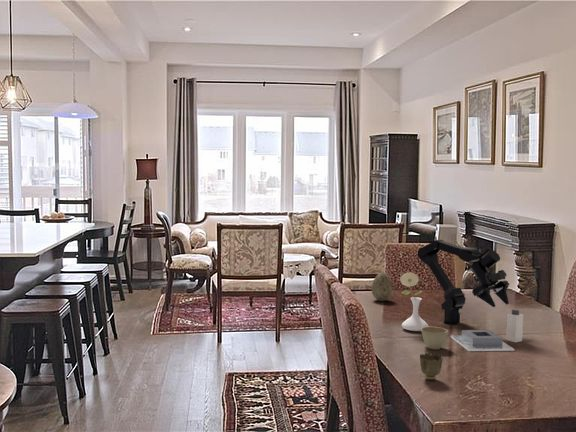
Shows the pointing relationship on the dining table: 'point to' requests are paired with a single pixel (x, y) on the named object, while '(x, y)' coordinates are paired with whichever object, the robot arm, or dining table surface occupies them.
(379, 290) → the decorative egg
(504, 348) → the grey square frame
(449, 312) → the robot arm
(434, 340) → the flower pot
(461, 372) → the dining table surface
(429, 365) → the cup
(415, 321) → the flower in vase
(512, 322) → the plug
